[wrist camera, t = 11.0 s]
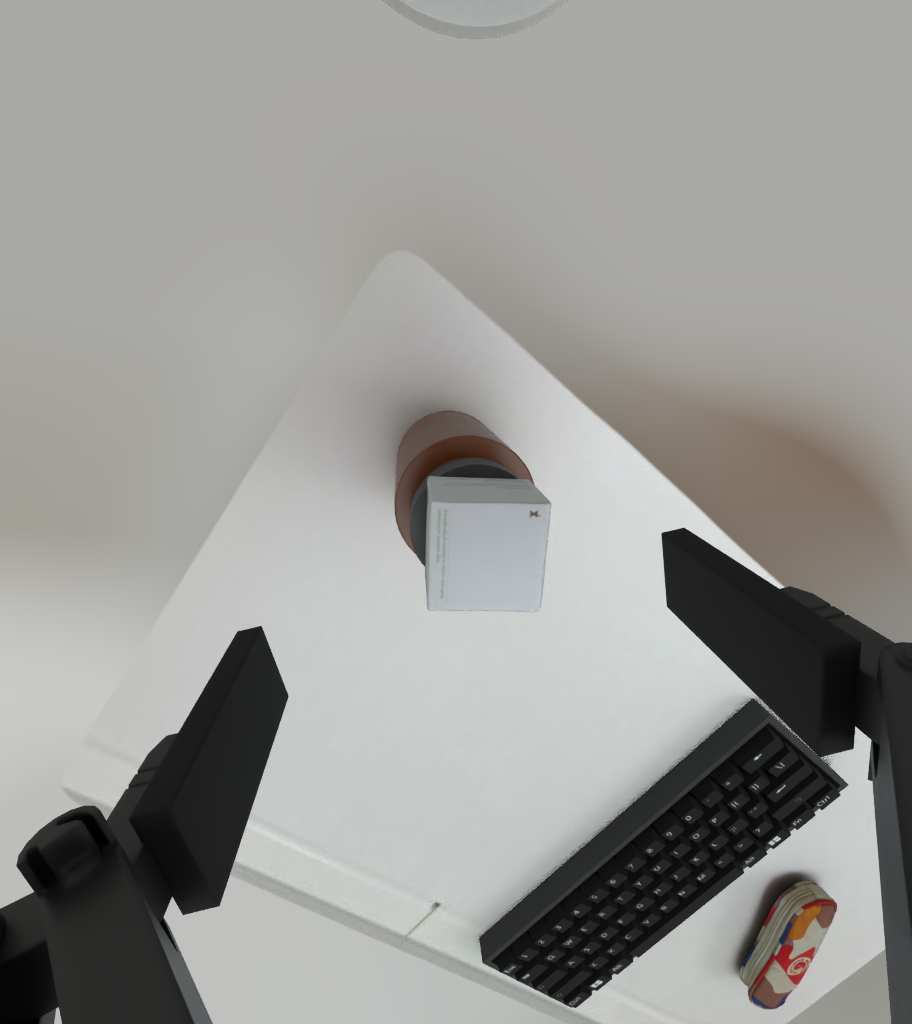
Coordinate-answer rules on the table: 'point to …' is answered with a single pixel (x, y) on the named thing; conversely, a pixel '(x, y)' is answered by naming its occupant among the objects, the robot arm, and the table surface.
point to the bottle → (445, 466)
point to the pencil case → (787, 944)
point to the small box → (485, 544)
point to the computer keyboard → (663, 858)
